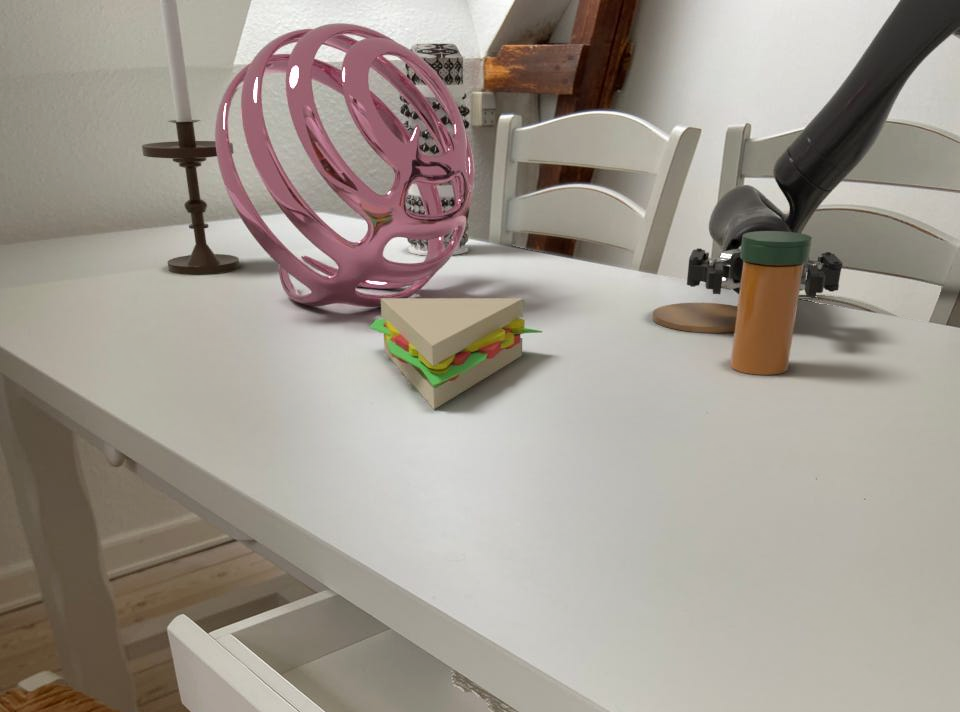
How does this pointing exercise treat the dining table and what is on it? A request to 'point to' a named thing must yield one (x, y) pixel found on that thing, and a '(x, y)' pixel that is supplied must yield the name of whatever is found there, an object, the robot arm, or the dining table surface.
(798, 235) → the lid
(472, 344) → the sandwich
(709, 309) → the coaster
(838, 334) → the dining table surface
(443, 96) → the spiral basket
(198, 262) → the candlestick
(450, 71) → the decorative candle
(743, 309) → the jar
